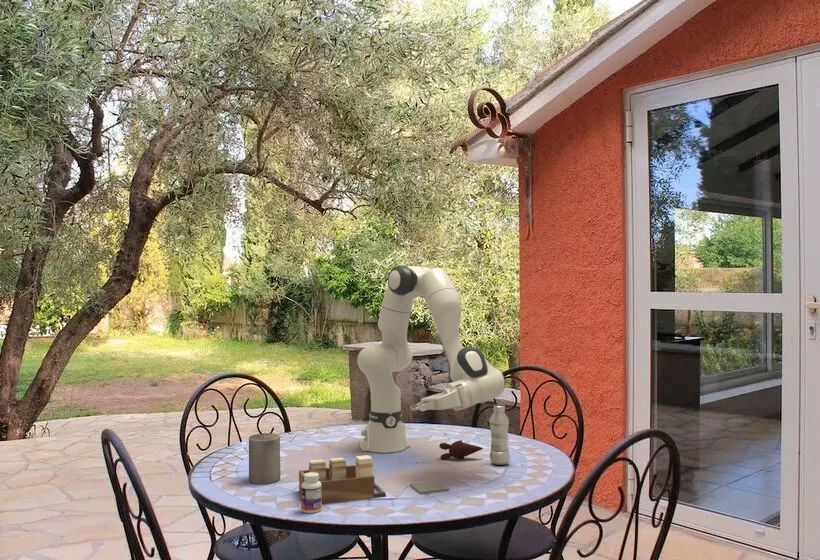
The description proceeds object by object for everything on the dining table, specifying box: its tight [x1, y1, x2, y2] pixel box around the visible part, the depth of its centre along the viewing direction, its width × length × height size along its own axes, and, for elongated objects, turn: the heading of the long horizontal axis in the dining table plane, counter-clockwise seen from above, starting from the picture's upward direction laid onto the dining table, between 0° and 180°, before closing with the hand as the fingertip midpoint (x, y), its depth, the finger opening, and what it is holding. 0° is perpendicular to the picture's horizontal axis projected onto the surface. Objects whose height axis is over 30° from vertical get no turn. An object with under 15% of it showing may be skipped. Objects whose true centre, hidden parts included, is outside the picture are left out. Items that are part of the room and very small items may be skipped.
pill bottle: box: [300, 472, 323, 514], centre depth 183 cm, size 5×5×10 cm
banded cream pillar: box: [355, 454, 374, 478], centre depth 200 cm, size 4×4×10 cm
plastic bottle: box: [488, 403, 511, 466], centre depth 229 cm, size 6×7×20 cm
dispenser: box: [298, 457, 387, 505], centre depth 198 cm, size 14×22×10 cm, turn 110°
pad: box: [409, 480, 450, 495], centre depth 203 cm, size 9×9×1 cm
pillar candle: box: [248, 432, 281, 486], centre depth 212 cm, size 10×10×15 cm
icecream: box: [438, 439, 484, 461], centre depth 236 cm, size 7×7×15 cm
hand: (415, 408), depth 206 cm, fingers open, 8 cm apart
